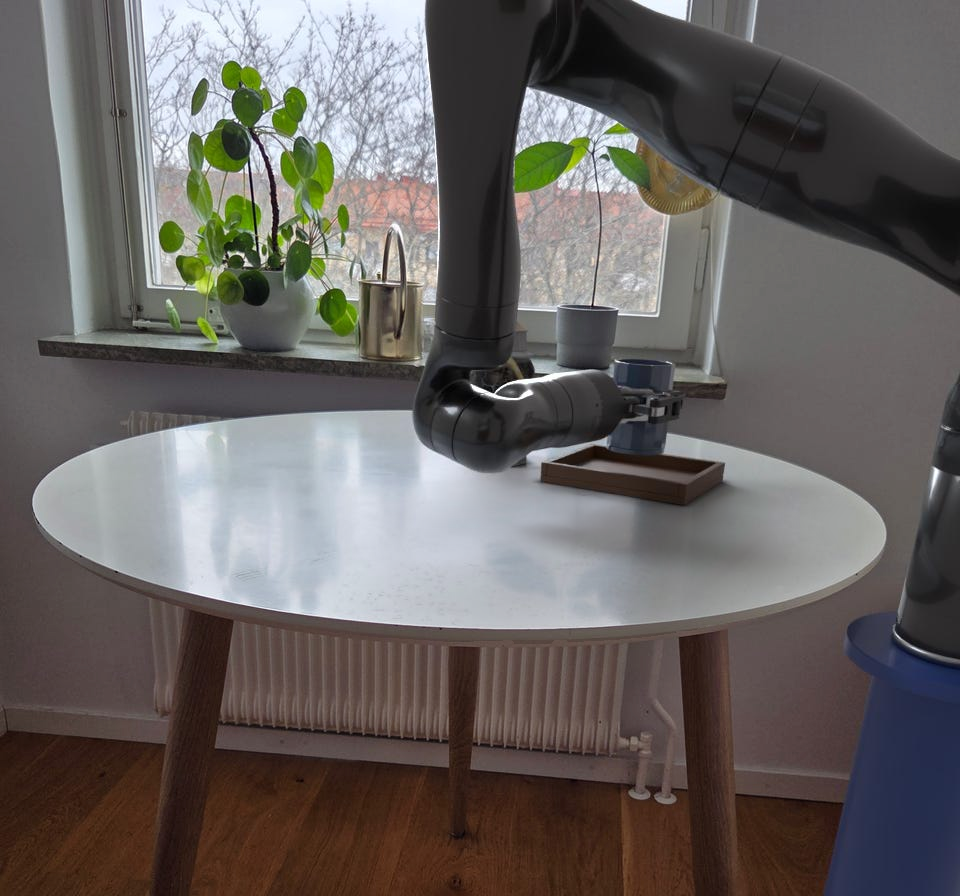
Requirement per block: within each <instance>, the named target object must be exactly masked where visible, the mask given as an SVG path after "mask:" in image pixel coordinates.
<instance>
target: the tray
mask: <svg viewBox="0 0 960 896" xmlns="http://www.w3.org/2000/svg"><path fill="white" fill-rule="evenodd" d="M540 465H541V466H540V480H539V481H540V482H541V483H548V484H553V485H558V486H559V485H560V486H565V487H572V488H577V489H584V490H590V491H596V492H603V493H608V494H614V495H620V496H625V497H632V498H636V499H637V498H639V499H644V500H648V501H649V500H650V501H656V502H662V503H668V504H674V505H680V506H686V505H687V504H689V503H690V502H691V501H693V500H695V499H696V498H698V497H700V496H701V495H703V494H704V493H706V492H708V491H709V490H711V489H713V487H715V486H717V485H719V484H720V483H722V482H723V481H724V474H725V467H726V462H723V461H716V460H709V459H702V458H696V457H690V456H689V457H688V456H681V455H674V454H665V453H662V454H659V455H649V456H643V455H629V454H622V453H617V452H613V451H610V450H608V449H607V448H606V445H603V444H596V443H590V444H588V445H587V444H586V445H584V446H582V447H579V448H577V449H574V450H570V451H568V452H566V453H563V454H560V455H557V456H555V457H552V458H549V459H547V460H544V461H542V462H541V464H540Z"/></svg>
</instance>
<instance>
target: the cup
mask: <svg viewBox="0 0 960 896" xmlns="http://www.w3.org/2000/svg"><path fill="white" fill-rule="evenodd" d="M613 365H614V366H613V374H612V375H613V376H612V379H613V380H614V381H615V383H616V384H617V386H626V387H629V388H647V389H650V390H652V391H653V393H662V392H671V391H673V387H674V379H675V370H676V363H675V362H671V361H667V360H659V359H649V358H631V357H630V358H629V357H628V358H627V357H625V358H616V359H614V364H613ZM635 395H636V396H637V397H638V399H639V401H640V404H641V394H635ZM668 427H669V421H667V422H663V423H659V424H655V425H652V424H651V423H648V421H628V422H626V423H624V424H618V426H617V427H616V428H615V430H614V431H613V432H612V433H611V434H610V435H609V436H607V437H606V445H605V446H606V448H607V449H608V450H610V451H613V452H617V453H622V454H629V455H643V456H649V455H659V454H665V449H666V444H667V437H668V436H667V434H668Z"/></svg>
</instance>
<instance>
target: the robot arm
mask: <svg viewBox="0 0 960 896" xmlns="http://www.w3.org/2000/svg"><path fill="white" fill-rule="evenodd" d="M424 30H425V32H424V33H425V46H426V58H427V70H428V78H429V88H430V96H431V97H430V98H431V106H432V115H433V117H432V118H433V130H434V131H433V132H434V146H435V163H436V176H437V177H436V178H437V179H436V180H437V208H438V212H437V213H438V215H437V216H438V221H437V222H438V237H437V238H438V239H437V245H438V246H437V264H436V265H437V267H436V286H435V289H436V290H435V303H434V304H435V307H434V309H435V310H434V325H433V327H434V328H433V329H434V330H433V331H434V332H433V337H432V342H431V344H430V348H429V351H428V354H427V357H426V360H425V362H424V363H425V364H424V367H423V371H422V373H421V376H420V379H419V383H418V386H417V389H416V392H415V395H414V398H413V403H412V409H411V419H412V425H413V428H414V431H415V435H416V436H417V438H418V440H419V441H420V443H421V444H422V445H423V446H425V447H426V448H427V449H428V450H430V451H432V452H435V453H436V454H438V455H441V456H443V457H445V458H446V459H448V460H450V461H453V462H455V463H457V464H458V465H461V466H463V467H464V468H466V469H469V470H470V471H473V472H476V473H480V474H499V473H502V472H505V471H506V470H508V469H510V468H512V467H514V466H513V465H514V464H515V463H517V462H518V461H519V460H521V459H522V458H524V457H525V456H528V455H529V454H531V453H532V452H537V451H541V450H546V449H551V448H552V449H561V448H568V447H572V446H577V445H583V444H588V443H593V442H597V441H601V440H604V439H607V436H609V435H610V434H611V433H612V432H613V431H614V430H615V428H616V427H617V426H618V424H624V423H626V422H628V421H648V423H651V424H652V425H655V424H659V423H663V422H667V421H668V422H672V421H676V420H679V419H680V412H681V410H682V409H683V407H684V398H685V397H684V396H685V395H683V392H682V391H681V390H672V391H671V392H662V393H653V391H652V390H650V389H647V388H629V387H626V386H617V384H616V383H615V381H614V380H613V377H612V376H610V375H608V373H606V372H604V371H602V370H600V369H594V368H593V369H585V370H584V369H582V370H574V371H564V372H555V373H551V374H547V375H544V376H541V377H535V378H532V379H523V380H517V381H513V382H510V383H507V384H505V385H503V386H502V387H500V388H499V389H498V390H497V391H496V392H495V393H494V394H493V393H491V392H488V391H486V390H484V389H482V388H479V387H477V386H475V385H474V384H473V374H474V372H475V371H488V370H494V369H497V368H499V367H501V366H503V365H504V364H506V363H507V362H508V360H509V359H510V357H511V355H512V351H513V347H514V340H515V331H516V322H517V321H518V312H519V301H520V291H521V290H520V289H521V275H522V260H521V258H522V256H521V255H522V254H521V241H520V233H519V225H518V215H517V206H516V198H515V197H516V195H515V193H516V192H515V160H516V147H517V141H518V140H517V139H518V133H519V127H520V121H521V116H522V111H523V107H524V102H525V99H526V94H527V90H528V89H531V90H533V91H538V92H542V93H545V94H547V95H550V96H551V95H552V96H555V97H557V98H561V99H563V100H565V101H569V102H571V103H574V104H576V105H579V106H582V107H585V108H587V109H590V110H592V111H594V112H597V113H599V114H601V115H603V116H606V117H607V118H609V119H610V120H612V121H614V122H616V123H618V124H619V125H620V126H622V127H623V128H625V129H626V130H628V132H630V133H631V134H633V135H634V136H635V137H636V138H638V139H639V140H640V141H641V142H642V143H644V145H646V146H647V147H648V148H650V149H651V151H653V152H655V153H656V154H657V155H658V156H659V157H661V158H662V159H663V160H664V161H666V162H667V163H668V164H670V165H671V166H672V167H674V168H675V169H676V170H678V171H679V172H680V173H682V174H684V175H685V176H686V177H688V178H689V179H691V180H693V181H694V182H696V183H698V184H700V185H701V186H703V187H704V188H707V189H708V190H710V191H712V192H714V193H717V194H718V193H719V195H721V196H723V197H725V198H727V199H730V200H732V201H734V202H736V203H738V204H740V205H743V206H745V207H747V208H750V209H752V210H753V211H757V212H758V213H760V214H763V215H765V216H768V217H770V218H773V219H775V220H778V221H780V222H783V223H786V224H788V225H791V226H794V227H796V228H800V229H802V230H805V231H807V232H811V233H814V234H817V235H820V236H824V237H827V238H829V239H832V240H836V241H840V242H843V243H846V244H850V245H852V246H855V247H860V248H863V249H867V250H869V251H873V252H875V253H878V254H881V255H883V256H886V257H888V258H891V259H893V260H895V261H897V262H899V263H901V264H903V265H905V266H906V267H908V268H911V269H912V270H914V271H916V272H918V273H919V274H922V275H923V276H924V277H926V278H928V279H929V280H931V281H933V282H935V283H936V284H938V285H940V286H941V287H943V288H945V289H946V290H948V291H950V292H951V293H953V294H954V295H956V296H958V297H959V298H960V158H959V157H956V156H954V155H952V154H950V153H948V152H946V151H944V150H942V149H941V148H939V147H937V146H936V145H935V144H933V143H932V142H930V141H928V140H927V139H926V138H924V137H923V136H921V135H920V134H919V133H917V132H916V131H915V130H914V129H913V128H911V127H910V126H908V125H907V124H906V123H904V122H903V121H902V120H901V119H899V118H898V117H897V116H896V115H894V114H893V113H892V112H890V111H889V110H888V109H886V108H884V107H883V106H882V105H880V104H878V103H877V102H876V101H875V100H873V99H871V98H870V97H869V96H867V95H865V94H864V93H863V92H861V91H859V90H858V89H856V88H854V87H853V86H851V85H849V84H848V83H846V82H844V81H842V80H841V79H838V78H837V77H835V76H833V75H831V74H829V73H827V72H824V71H822V70H820V69H818V68H816V67H813V66H811V65H808V64H806V63H804V62H802V61H800V60H797V59H795V58H793V57H791V56H788V55H786V54H784V55H783V53H781V52H779V51H775V50H773V49H770V48H768V47H764V46H762V45H760V44H757V43H754V42H752V41H749V40H747V39H745V38H741V37H739V36H736V35H733V34H730V33H727V32H724V31H721V30H718V29H715V28H712V27H709V26H706V25H702V24H700V23H699V24H698V23H696V22H692V21H690V20H689V21H688V20H685V19H682V18H678V17H675V16H672V15H668V14H666V13H662V12H659V11H657V10H654V9H651V8H650V7H647V6H645V5H642V4H641V3H639V2H637V1H635V0H425V3H424ZM635 394H641V404H640V401H639V399H638V397H637V396H636V395H635ZM925 486H926V487H925V491H924V494H923V499H922V504H921V508H920V512H919V517H918V522H917V526H916V530H915V534H914V539H913V543H912V548H911V552H910V556H909V561H908V564H907V565H908V566H907V570H906V574H905V578H904V583H903V587H902V592H901V596H900V602H899V605H898V609H897V611H896V612H897V615H896V622H895V624H894V626H893V630H892V634H891V639H892V641H893V643H894V644H895V645H896V646H897V647H898V648H900V649H901V650H903V651H904V652H906V653H908V654H910V655H912V656H914V657H916V658H919V659H922V660H924V661H927V662H930V663H933V664H937V665H940V666H944V667H949V668H953V669H959V670H960V371H959V372H958V374H957V376H956V378H955V380H954V382H953V384H952V385H951V387H950V388H949V390H948V392H947V395H946V398H945V403H944V406H943V412H942V416H941V420H940V425H939V429H938V433H937V437H936V441H935V446H934V451H933V455H932V459H931V464H930V469H929V473H928V477H927V482H926V485H925Z"/></svg>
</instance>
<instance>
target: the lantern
mask: <svg viewBox="0 0 960 896" xmlns="http://www.w3.org/2000/svg"><path fill="white" fill-rule="evenodd" d="M529 331H530V330H529V328H527V327H525V326H524V325H523V324H522V323H520V321H519V320H517V322H516V331H515V340H514V347H513V351H512V355H511V357H510V359H509V360H508V362H507V363H506V364H504V365H503V366H501V367H499V368H497V369H494V370H488V371H473V374H474V375H473V385H475V386H477V387H479V388H482V389H484V390H486V391H488V392H491V393H493V394H494V393H495V392H496V391H497V390H498V389H499V388H500V387H502V386H503V385H505V384H507V383H510V382H513V381H517V380H523V379H532V378H536V377H535V376H536V369H535V365H534V363H533V361H532V360H531V358H534V357H535V355H534V354H533V353H532V352H530V351H528V341H527V340H528V338H527V333H528V332H529ZM527 456H528V455H527ZM527 456H525V457H524V458H522V459H521V460H519V461H518V462H517V463H515V464H514V465H513V466H512V467H517V466H520V465H525V464H527Z"/></svg>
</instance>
